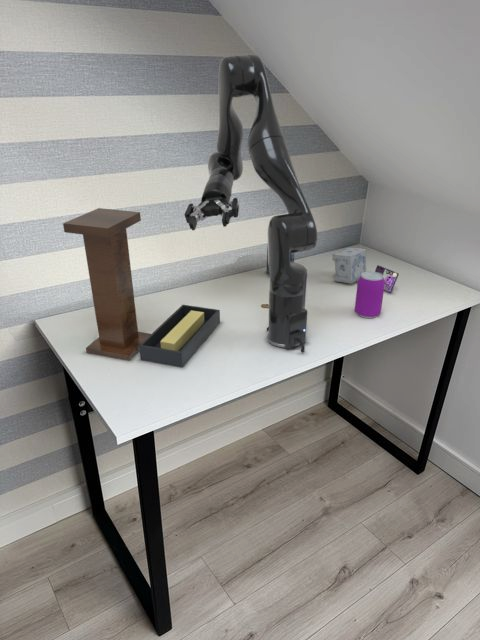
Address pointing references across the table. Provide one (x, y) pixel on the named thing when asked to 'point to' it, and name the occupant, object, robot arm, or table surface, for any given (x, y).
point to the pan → (156, 354)
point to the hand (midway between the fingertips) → (208, 225)
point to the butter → (183, 331)
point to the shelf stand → (110, 280)
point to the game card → (388, 277)
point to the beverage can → (369, 294)
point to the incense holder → (349, 265)
